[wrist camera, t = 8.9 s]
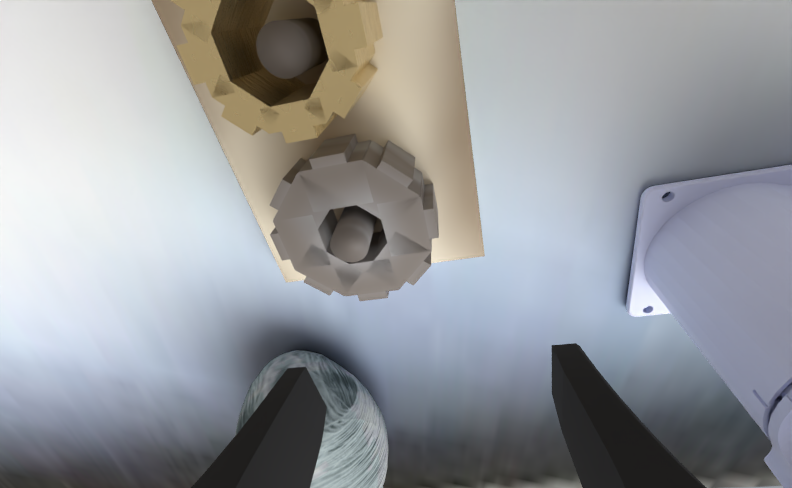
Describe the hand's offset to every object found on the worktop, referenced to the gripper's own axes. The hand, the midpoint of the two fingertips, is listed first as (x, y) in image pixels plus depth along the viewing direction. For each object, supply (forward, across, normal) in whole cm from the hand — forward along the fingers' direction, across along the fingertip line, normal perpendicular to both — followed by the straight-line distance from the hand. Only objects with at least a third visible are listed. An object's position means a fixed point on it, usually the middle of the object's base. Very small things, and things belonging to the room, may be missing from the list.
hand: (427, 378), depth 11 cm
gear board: (+10, +3, -5) cm, 11 cm away
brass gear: (+9, +3, -9) cm, 13 cm away
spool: (+10, +10, +14) cm, 20 cm away
